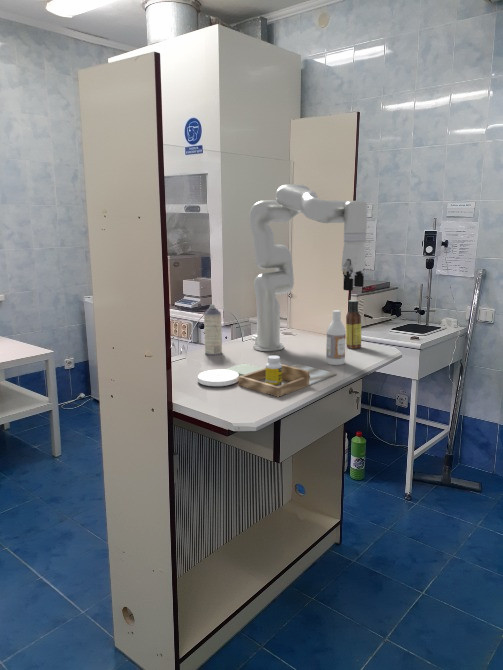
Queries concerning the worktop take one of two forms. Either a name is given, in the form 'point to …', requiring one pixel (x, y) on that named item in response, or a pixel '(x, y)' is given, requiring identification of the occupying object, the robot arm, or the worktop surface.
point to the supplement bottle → (274, 371)
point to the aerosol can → (213, 331)
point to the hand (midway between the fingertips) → (353, 288)
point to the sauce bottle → (353, 326)
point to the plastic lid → (218, 377)
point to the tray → (244, 369)
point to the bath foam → (336, 341)
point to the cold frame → (294, 374)
